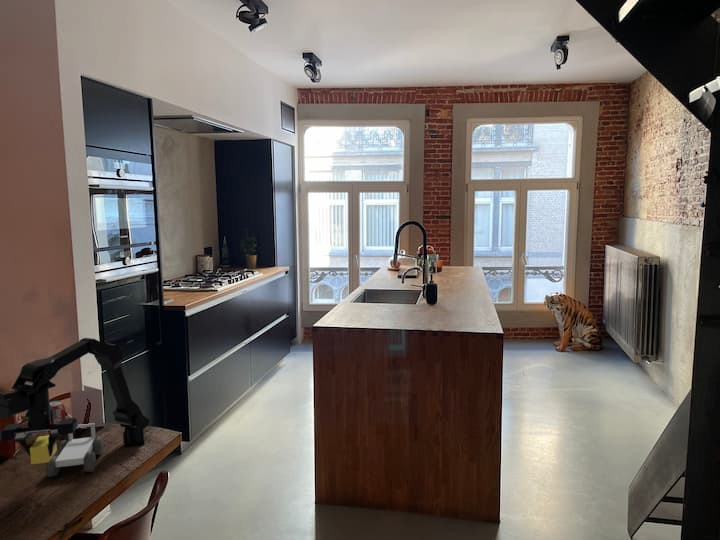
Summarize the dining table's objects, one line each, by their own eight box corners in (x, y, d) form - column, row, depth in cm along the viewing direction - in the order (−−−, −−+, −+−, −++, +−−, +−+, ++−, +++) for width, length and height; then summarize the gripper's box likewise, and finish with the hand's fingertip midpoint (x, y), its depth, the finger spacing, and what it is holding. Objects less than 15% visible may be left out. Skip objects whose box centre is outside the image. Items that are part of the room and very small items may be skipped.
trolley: (64, 454, 175) (62, 425, 174) (103, 449, 178) (102, 421, 177) (47, 480, 158) (45, 448, 157) (91, 475, 161) (89, 443, 160)
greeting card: (106, 426, 198) (103, 389, 197) (87, 433, 192) (85, 395, 190) (87, 421, 204) (85, 384, 202) (69, 427, 197) (67, 390, 196)
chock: (56, 450, 157) (55, 434, 157) (48, 462, 149) (47, 446, 149) (40, 452, 156) (39, 436, 155) (31, 464, 148) (29, 447, 148)
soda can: (70, 430, 194) (68, 400, 193) (58, 438, 187) (56, 407, 186) (53, 430, 195) (51, 399, 194) (40, 438, 188) (37, 406, 187)
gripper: (80, 393, 159) (83, 441, 161) (12, 399, 154) (16, 448, 156) (70, 406, 149) (74, 457, 150) (-3, 413, 144) (1, 465, 145)
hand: (41, 456), depth 151 cm, fingers closed on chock, 4 cm apart
